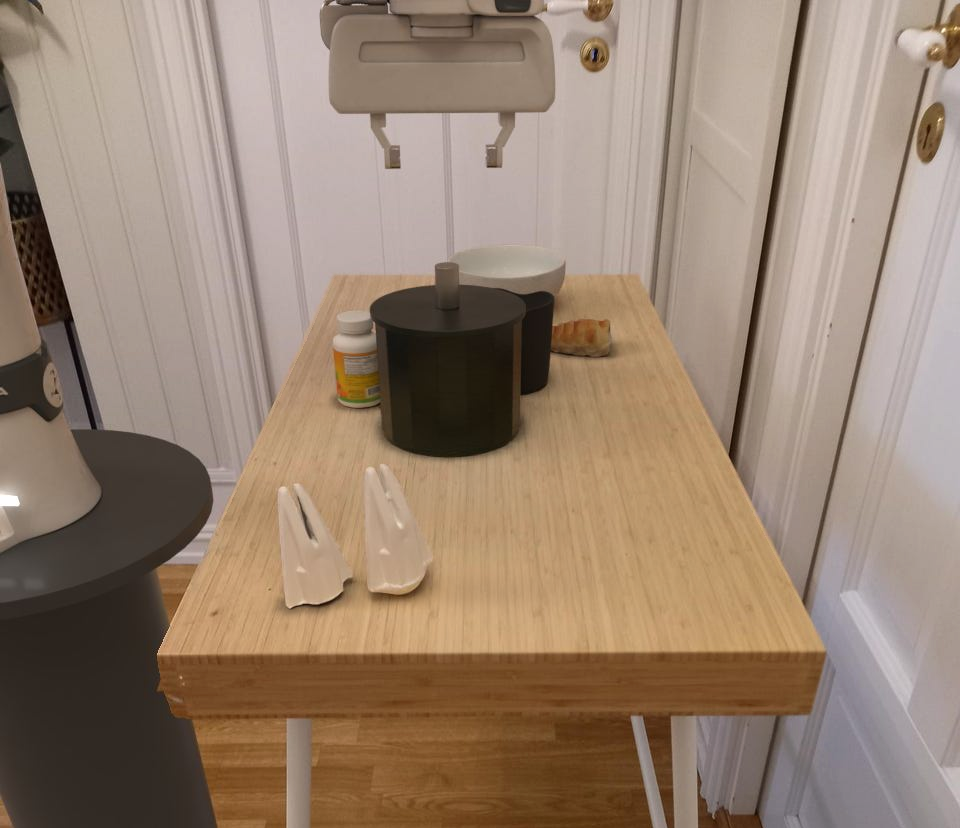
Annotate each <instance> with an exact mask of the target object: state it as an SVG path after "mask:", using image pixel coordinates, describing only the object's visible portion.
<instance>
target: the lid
mask: <svg viewBox="0 0 960 828" xmlns="http://www.w3.org/2000/svg"><path fill="white" fill-rule="evenodd" d="M369 312H370V317H371V319H372V321H373V323H374V324H375V323H376V324H377V325H379V326H380V327H383V328H385V329H387V330H390V331H394V332H398V333H402V334H407V335H414V336H423V337H465V336H475V335H482V334H487V333H492V332H496V331H500V330H503V329H506V328H509V327H511V326H513V325H515V324H517V323H518V322H520V321H521V320H522V319H523V318H524V316H525V314H526V305H525V303H524V301H523V300H522V299H521V298H519V297H518V296H516V295H514V294H512V293H509V292H506V291H503V290H499V289H495V288H490V287H483V286H475V285H459V265H458V264H456V263H452V262H448V261H444V262H443V261H442V262H438V263H436V264H435V265H434V284H430V285H429V284H428V285H419V286H414V287H413V286H412V287H408V288H403V289H400V290H399V289H398V290H395V291H391V292H389V293H387V294H386V293H385V294H384V295H382V296H380V297H378V298H377V299H375V300H374V301H373V302H372V303H371V304H370V306H369Z"/></svg>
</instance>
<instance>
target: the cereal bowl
mask: <svg viewBox="0 0 960 828" xmlns="http://www.w3.org/2000/svg"><path fill="white" fill-rule="evenodd" d="M447 262H452V263H456V264H458V265H459V285H475V286H483V287H490V288H501V289H505V290H508V291H511V292H514V293H518V294H530V293H534V292H538V291H546V292H549V293H551V294H552V295H553V296H554V298H556V297H557V295H558V294H559V293H560V291H561V289H562V288H563V285H564V282H565V277H566V258H565V256H564V255H563V254H562V253H560V252H559V251H557V250H555V249H551V248H548V247H543V246H539V245H538V246H537V245H530V244H491V245H483V246H482V245H481V246H476V247H470V248H466V249H463V250H460V251H458V252H455V253H453V254H452V255H451V256H450V257H449V258H448V260H447Z"/></svg>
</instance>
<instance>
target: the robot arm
mask: <svg viewBox="0 0 960 828" xmlns="http://www.w3.org/2000/svg"><path fill="white" fill-rule="evenodd" d="M333 2H335V3H336V4H332V3H333ZM544 4H545V0H324V1H323V3H322V4H321V7H320V9H319V27H320V36H321V40H322V42H323V44H324V45H325V47H326V48H327V50H328V51H329V55H328V101H329V104H330V105H331V107H332V108H333V109H334V110H335V112H336V113H337V114H340V115H368V114H369V119H370V120H369V121H370V129H371V131H372V133H373V134H374V136H375V138H376V140H377V141H378V143H379V145H380V146H381V149H383V152H384V153H383V156H384V169H385V170H401V167H402V165H401V164H402V163H401V158H400V157H401V145H400V144H399V145H397V144H395V145H394V144H391V142H390V140H389V138H388V137H387V134H386V133H385V132H384V130H383V128H386V127H387V115H390V114H396V115H397V114H495V113H496V114H497V123H498V124H499V126H500V127H501V129H500V131H499V133H498V134H497V137H496V139H495V141H494V143H492V144H491V143H490V144H485V150H484V151H485V160H484V161H485V168H486V169H503V154H504V153H503V152H504V151H503V150H504V149H503V148H505V146H506V144H507V142H508V140H509V139H510V138H511V135H512V133H513V131H514V130H515V128H516V113H517V114H519V113H520V114H521V113H522V114H523V113H526V114H527V113H531V114H532V113H547V112H548V111H549V109H550V108H551V107H552V105H553V104H554V103H555V100H556V66H555V65H556V64H555V54H554V45H553V44H554V43H553V38H552V34H551V31H550V29H549V28H548V25H547V23H546V22H544V20H542V19H541V18H539V17H537V16H538V15H539V14H541V13H542V12H543V9H544ZM9 207H10V206H9V201H8V196H7V191H6V184H5V179H4V175H3V169H2V164H1V163H0V553H2V552H4V551H6V550H8V549H9V548H11V547H13V546H15V545H17V544H18V543H20V542H23V541H25V540H28V539H31V538H34V537H38V536H41V535H44V534H47V533H50V532H53V531H55V530H58V529H60V528H63V527H65V526H67V525H69V524H71V523H73V522H75V521H77V520H78V519H80V518H81V517H83V516H84V515H86V514H87V513H88V512H89V511H91V510H92V509H93V508H94V507H95V506H96V504H97V503H98V501H99V500H100V497H101V493H102V491H101V487H100V485H99V483H98V482H97V480H96V479H95V477H94V476H93V474H92V472H91V471H90V469H89V467H88V466H87V464H86V462H85V460H84V458H83V456H82V454H81V452H80V450H79V448H78V446H77V444H76V441H75V439H74V437H73V435H72V432H71V430H70V429H71V428H70V426H69V423H68V420H67V417H66V415H65V413H64V410H63V408H64V400H63V391H62V387H61V386H62V385H61V382H60V379H59V375H58V371H57V368H56V366H55V364H54V362H53V358H52V355H51V351H50V348H49V346H48V342H47V341H46V340H45V339H44V338H42V337H41V336H40V331H39V328H38V325H37V321H36V317H35V313H34V309H33V306H32V301H31V298H30V295H29V291H28V287H27V283H26V280H25V277H24V273H23V269H22V265H21V262H20V258H19V255H18V251H17V246H16V242H15V238H14V233H13V227H12V226H13V225H12V221H11V215H10V213H11V212H10V208H9Z"/></svg>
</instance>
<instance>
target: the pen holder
mask: <svg viewBox="0 0 960 828" xmlns="http://www.w3.org/2000/svg"><path fill="white" fill-rule="evenodd" d="M495 289H499V290H503V291H506V292H509V293H512V294H514V295H516V296H518V297H519V298H521V299H522V300H523V301H524V303H525V305H526V314H525V316H524V318H523V319H522V339H521V395H524V394H525V395H526V394H529V393H530V394H531V393H534V392H537V391H539V390H541V389H543V388H544V387H545V386H546V385H547V383H548V382H549V376H550V364H551V353H552V351H551V340H552V326H554V325H553V323H554V312H555V311H554V309H555V297H554V296H553V295H552V294H551V293H549V292H546V291H538V292H534V293H530V294H518V293H514V292H511V291H508V290H505V289H501V288H495Z"/></svg>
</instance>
